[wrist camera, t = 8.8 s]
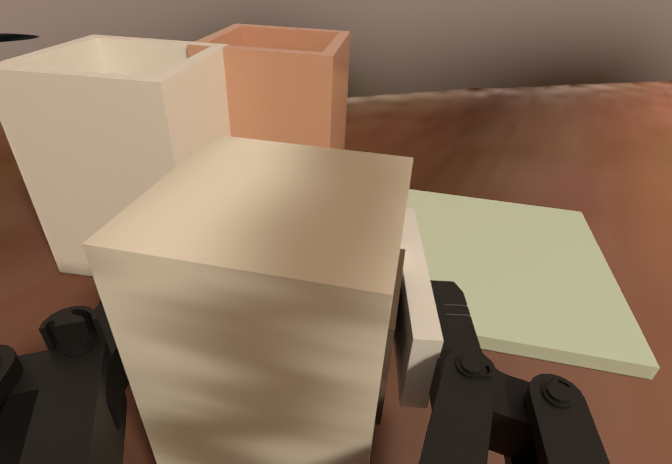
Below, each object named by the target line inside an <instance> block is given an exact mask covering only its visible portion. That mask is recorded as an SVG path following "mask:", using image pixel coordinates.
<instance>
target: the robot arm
mask: <svg viewBox="0 0 672 464" xmlns="http://www.w3.org/2000/svg"><path fill="white" fill-rule="evenodd" d="M400 249H405V257H404V264H403V272H402V279H401V287H400V294H399V302H398V310H397V317H396V325H395V332H394V347H395V358H396V368H397V378H398V388H399V399H400V406H404V407H421V408H427V405H428V401H429V397H430V401H431V407H432V413H431V417H430V421H429V425H428V429H427V432H426V437H425V441H424V445H423V449H422V453H421V457H420V461H419V464H487V458H488V450H491V451H494V452H497V453H499V454H502V455H504V458H505V464H610V463H609V460H608V458H607V455H606V452H605V450H604V447H603V444H602V442H601V439H600V437H599V434H598V431H597V429H596V426H595V423H594V421H593V418H592V416H591V413H590V410H589V408H588V405H587V402H586V400H585V398H584V396H583V395H582V393H581V391H580V390H579V389H578V388H577V387H576V386H575V385H573V384H572V383H571V382H569V381H568V380H566V379H564V378H562V377H560V376H556V375H553V374H540V375H538V376H535V377H533V379H532V380H531V382H527V381H524V380H521V379H518V378H515V377H512V376H509V375H507V374H504V373H502V372H500V371H499V370H497V369H496V368H495V366H494V365H493V363H492V361H491V360H490V359H488V358H487V357H486V356H485V355H484V354H483V353H482V350H481V347H480V344H479V341H478V338H477V334H476V331H475V328H474V325H473V321H472V318H471V317H470V312H469V308H468V307H467V302H466V299H465V296H464V292H463V291H462V290H461V289H460V288H459V287H458V286H457V284H456V283H455V282H454V281H436V280H430V277H429V273H428V268H427V264H426V259H425V255H424V250H423V246H422V241H421V237H420V232H419V228H418V223H417V219H416V214H415V210H414V208H406V213H405V220H404V227H403V234H402V241H401V248H400ZM39 331H40V333H41V335H42V337H43V339H44V341H45V343H46V346H47V348H48V350H46V351H42V352H37V353H31V354H26V355H21V356H17V354H16V352H15V351H14V349H12V348H11V347H10V346H8V345H0V464H122V463H123V451H124V438H125V425H126V412H127V399H126V395H125V392H124V391H125V389H126V387H127V385H128V383H129V380H128V378H127V375H126V372H125V369H124V366H123V363H122V360H121V357H120V354H119V351H118V348H117V345H116V342H115V339H114V336H113V334H112V331H111V328H110V325H109V322H108V319H107V316H106V313H105V310H104V307H103V304H102V301H100V303H99V304H98V305H97V307H96V308H95V310H93V309H92V308H90V307H86V306H72V307H69V308H65V309H62V310H60V311H58V312H56V313H54V314H52V315H50V316H49V317H48V318H47V319H46V320H45V321H43V323H42V325H41V326H40V328H39Z"/></svg>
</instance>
